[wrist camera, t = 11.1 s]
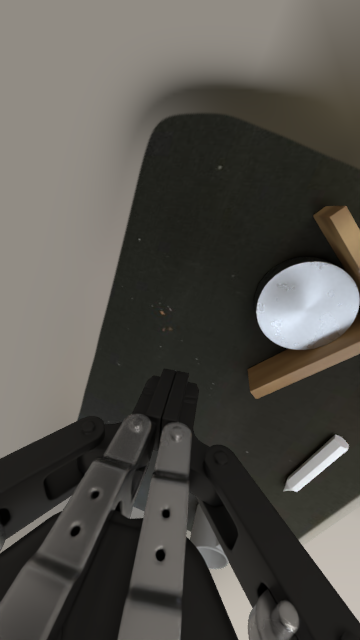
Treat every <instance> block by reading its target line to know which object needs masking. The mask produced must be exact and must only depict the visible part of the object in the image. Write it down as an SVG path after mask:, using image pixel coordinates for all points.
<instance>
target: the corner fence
mask: <svg viewBox="0 0 360 640" xmlns="http://www.w3.org/2000/svg"><path fill="white" fill-rule="evenodd" d="M313 217H314V219H315V220H316V222H317V224H318V225H319V227H320V229H321V230H322V232H323V234H324V235H325V237H326V239H327V240H328V242H329V244H330V245H331V247H332V249H333V251H334V252H335V254H336V256H337V257H338V259H339V261H340V262H341V264H342V266H343V267H344V269H345V271H346V272H347V273H348V274H349V275H350V276H351V277H352V278H353V280H354V281H355V283H356V285H357V287H358V291H359V294H360V230H359V228H358V226H357V224H356V222H355V221H354V219H353V217H352V215H351V213H350V212H349V210H348V208H347V206H326V207H324V208H323V209H321V210H320V211H319V212H317V213H316V214H314V215H313ZM358 354H360V313H359V314H357V316H356V318H355V320H354V321H353V323H352V325H351V326H350V327H349V329H348V330H347V331H346V332H345V333H344V334H343V335H341V336H340V337H339V338H337V339H336V340H334V341H333V342H331V343H329V344H327V345H324V346H322V347H318V348H314V349H308V350H295V349H287V350H285V351H283V352H281V353H279V354H277V355H275V356H273V357H271V358H269V359H267V360H265V361H263V362H261V363H259V364H257V365H255V366H253V367H251V368H249V369H248V378H249V386H250V392H251V393H252V395H253V396H254V397H255V398H256V399H258V398H260V397H262V396H264V395H267V394H269V393H271V392H274V391H276V390H278V389H280V388H283V387H285V386H287V385H289V384H292V383H294V382H296V381H299V380H301V379H303V378H305V377H308V376H310V375H312V374H315V373H317V372H319V371H321V370H324V369H326V368H328V367H330V366H333V365H335V364H337V363H340V362H342V361H344V360H346V359H349V358H351V357H353V356H355V355H358Z"/></svg>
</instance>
